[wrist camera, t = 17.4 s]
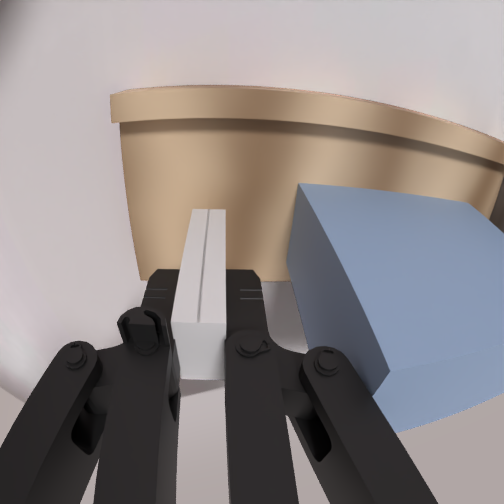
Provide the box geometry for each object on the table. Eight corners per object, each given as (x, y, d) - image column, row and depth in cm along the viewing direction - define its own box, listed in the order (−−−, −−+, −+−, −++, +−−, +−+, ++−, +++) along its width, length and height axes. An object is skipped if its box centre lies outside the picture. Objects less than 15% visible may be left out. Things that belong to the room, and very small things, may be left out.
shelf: (145, 264, 17) (92, 501, 6) (128, 89, 12) (-149, 256, 1) (464, 263, 20) (557, 398, 8) (506, 142, 14) (653, 256, 3)
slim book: (286, 262, 16) (331, 446, 8) (298, 182, 14) (390, 371, 5) (444, 263, 17) (525, 381, 9) (468, 202, 15) (577, 314, 7)
